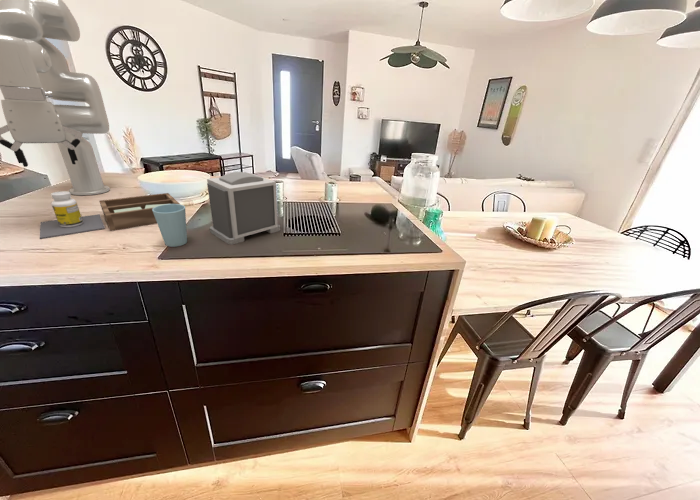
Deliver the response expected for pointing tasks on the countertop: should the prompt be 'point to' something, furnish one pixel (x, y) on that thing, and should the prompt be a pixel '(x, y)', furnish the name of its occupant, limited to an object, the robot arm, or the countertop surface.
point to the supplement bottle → (66, 209)
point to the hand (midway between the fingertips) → (50, 164)
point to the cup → (171, 223)
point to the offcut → (127, 209)
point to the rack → (135, 216)
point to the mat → (54, 229)
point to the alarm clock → (242, 206)
